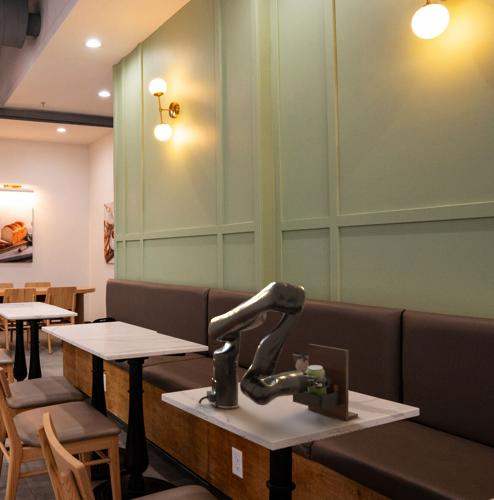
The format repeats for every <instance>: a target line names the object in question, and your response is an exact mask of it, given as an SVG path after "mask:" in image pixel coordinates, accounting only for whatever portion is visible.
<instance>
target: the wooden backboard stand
mask: <svg viewBox="0 0 494 500" xmlns="http://www.w3.org/2000/svg"><path fill="white" fill-rule="evenodd" d="M307 345H308V350H307V351H308V352H307V353H308V366H311V365H319V366H322V367H323V369H324V371H325V377H331V379H332V383H331V384H329V387H327V388H326V392H327V394H324V395H317V394H313V393H309V392H308V388H307V389H306V390H305V391H304V392H303V393H299V394H294V395H292V402H293V403H296V404H300V405H303V406H306V407H307V410H308V411H311V412H315V413H318V414H322V415H323V416H324V415H325V416H328V417H331V418H335V419H338V420H342V421H344V422H346V421H347V422H348V421H350V420H353V419H357V418H359V413H356V412H352V411H350V410H349V377H350V376H349V375H350V374H349V368H350V367H349V363H350V362H349V361H350V360H349V357H350V356H349V353H350V352H349V349H343V348H338V347H332V346H326V345H320V344H315V343H314V344H313V343H308V344H307Z"/></svg>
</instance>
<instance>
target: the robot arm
mask: <svg viewBox="0 0 494 500" xmlns="http://www.w3.org/2000/svg"><path fill="white" fill-rule="evenodd" d="M306 300H307V293H306V290H305V288H304V287H303V286H302V285H300V284H296V283H290V282H286V281H281V280H280V281H279V280H274V281H272V282H270V283H268V284H267V285H265V286H264V288H262V289H261V290H260V291H258V293H256V294H255V295H253V296H252V297H251V298H249V299H247V300H245V301H243V302H242V303H240V304H239V305H236V306H235V307H234V308H232V309H230V310H228V311H227V312H226V313H223V314H221V315H217V316H215V317H213V318H212V319H211V320H210V321H209V324H208V329H207V331H208V335H209V337H210V338H211V339H212V340H213V341H214V342H219V343H220V342H225V344H224V345H223V346H221V347H220V348H218V349H215V350H214V351H213V354H212V355H213V357H212V358H213V363H212V364H213V372H212V374H213V375H212V378H211V390H207V391H206V395H205V396H202V397H201V398H199V400H198V404H201V403H202V401H204V400H205V399H206V400H207V401H208V402H209V403H211V405H212V406H214V408H216V409H217V408H218V409H225V410H226V409H227V410H231V409H237V408H239V390H240V393H242V394H243V395H244V396H245V397H247V398H248V399H249V400H251V401H252V402H253V403H254V404H256V405H258V406H268V405H269V404H270V403H271V402H272V401H274V400H276V399H277V398H281V397H289V396H293V395H294V394H299V393H303V392H304V391H305V390H306V389H307V388H310V387H316V388H317V389H322V388H327V387H329V384H331V383H332V379H331V377H325V378H319V377H317V376H309V375H307V373H302V372H300V371H298V370H297V369H296V370H291V371H290V370H289V371H285V372H280V373H278V374H277V373H276V374H275V372H276V368H277V365H278V363H279V360H280V357H281V353H282V351H283V348H284V345H285V344H286V343H287V340H288V339H289V336H290V334H291V333H292V332H293V329H294V328H295V325H296V323H297V322H298V320H299V318H300V316H301V315H302V312H303V310H304V307H305V305H306ZM268 312H274V313H280V314H282V316H281V319H280V320H279V322H278V323H277V324H276V326H274V328H272V330H270V332H269V333H267V334H266V335H265V336H264V337H263V338H262V340H261V341H260V342H259V343H258V345H257V347H256V350H255V353H254V357H253V360H252V363H251V365H250V366H249V368H248V369H247V370H246V372H245V374H244V375H243V377H242V378H241V379H240V382H239V358H240V357H239V356H240V352H241V337H242V332H246V331H247V332H248V331H251V330H254V329H256V328H258V327H260V326H261V325H262V324H264V323H265V322H266V320H267V317H268ZM260 376H262V377H265V378H264V379H263V380H262V379H261V378H260ZM313 378H316V382H314V379H313Z"/></svg>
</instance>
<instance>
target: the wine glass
mask: <svg viewBox="0 0 494 500" xmlns="http://www.w3.org/2000/svg"><path fill="white" fill-rule="evenodd" d="M292 353H293V354H292V359H293V361H292V362H293V365H294V368H295V369H296V370H297V371H300V372H302V373H306V371H307V369H308V352H305V351H294V352H292Z"/></svg>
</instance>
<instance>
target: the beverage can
mask: <svg viewBox="0 0 494 500" xmlns="http://www.w3.org/2000/svg"><path fill="white" fill-rule="evenodd" d="M306 373H307V375H309V376H317V377H319V378H325V371H324V369H323V367H322V366H319V365H311V366H308V369H307V371H306ZM313 379H314V382H316V378H313ZM308 392H309V393H313V394H317V395H324V394H327V392H326V388H322V389H317V388H316V387H310V388H308Z"/></svg>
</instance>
